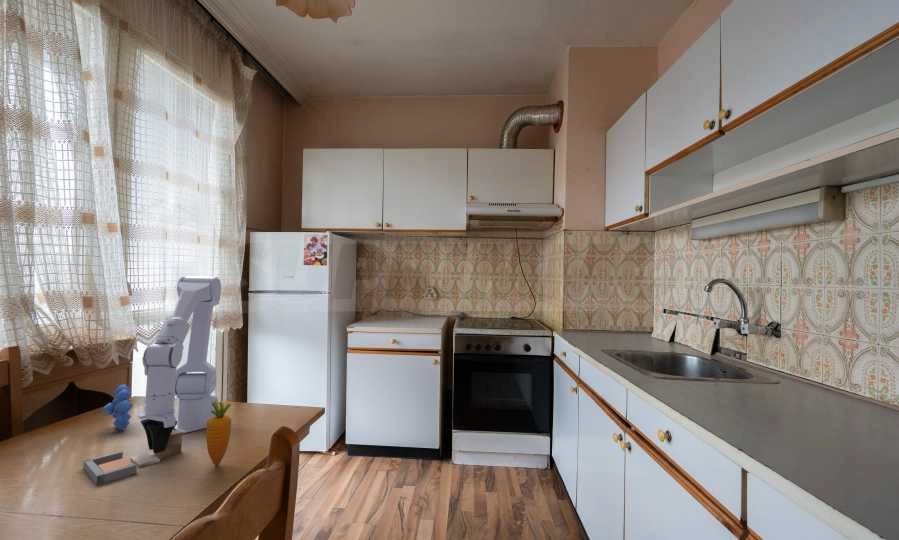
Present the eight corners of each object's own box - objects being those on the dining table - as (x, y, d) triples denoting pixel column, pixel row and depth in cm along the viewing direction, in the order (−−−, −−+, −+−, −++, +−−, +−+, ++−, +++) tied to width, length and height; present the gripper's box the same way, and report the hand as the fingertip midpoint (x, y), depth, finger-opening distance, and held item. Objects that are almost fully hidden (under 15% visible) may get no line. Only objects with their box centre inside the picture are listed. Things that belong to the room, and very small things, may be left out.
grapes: (98, 425, 111) (101, 383, 111) (128, 420, 116) (131, 380, 116) (102, 438, 103) (105, 392, 103) (134, 431, 108) (137, 388, 108)
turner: (174, 447, 98) (176, 427, 99) (184, 454, 95) (185, 433, 95) (130, 459, 91) (132, 438, 91) (138, 467, 88) (140, 445, 88)
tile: (125, 463, 90) (125, 457, 90) (132, 470, 87) (132, 464, 87) (97, 472, 86) (97, 465, 86) (103, 479, 83) (103, 472, 83)
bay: (121, 458, 92) (121, 450, 92) (136, 473, 85) (136, 464, 85) (83, 468, 86) (83, 460, 86) (96, 485, 80) (97, 476, 80)
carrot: (233, 463, 91) (237, 399, 92) (214, 472, 87) (218, 405, 87) (218, 459, 93) (221, 396, 93) (198, 468, 88) (202, 402, 89)
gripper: (130, 390, 94) (126, 446, 94) (151, 403, 86) (147, 465, 85) (164, 385, 100) (161, 438, 100) (187, 396, 92) (183, 454, 91)
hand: (157, 450), depth 93 cm, fingers closed on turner, 2 cm apart
